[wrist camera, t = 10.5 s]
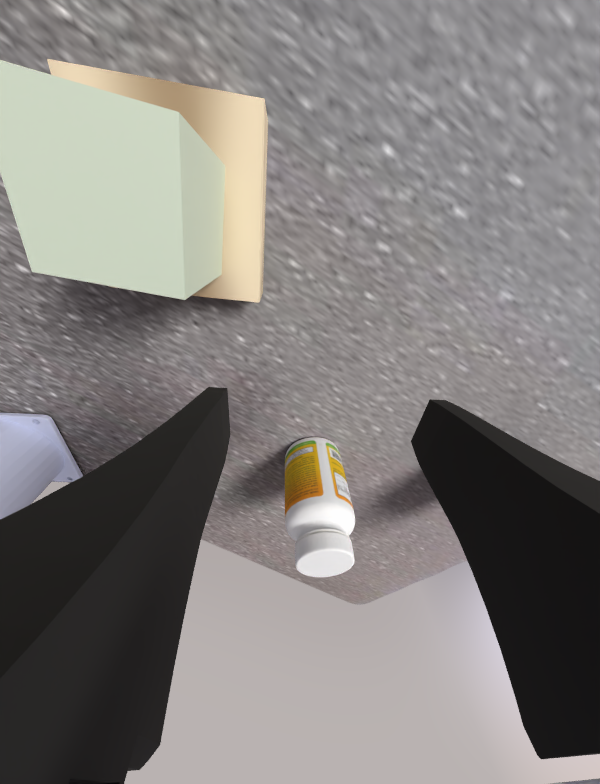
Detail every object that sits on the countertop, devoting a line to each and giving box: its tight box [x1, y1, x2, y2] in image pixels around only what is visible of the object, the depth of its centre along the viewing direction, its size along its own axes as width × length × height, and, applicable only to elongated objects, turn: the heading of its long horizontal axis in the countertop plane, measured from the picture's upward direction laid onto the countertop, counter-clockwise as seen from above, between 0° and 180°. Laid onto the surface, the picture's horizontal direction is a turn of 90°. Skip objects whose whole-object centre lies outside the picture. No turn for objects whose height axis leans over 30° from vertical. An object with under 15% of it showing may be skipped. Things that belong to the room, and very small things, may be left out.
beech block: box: [47, 59, 268, 302], centre depth 13 cm, size 8×8×3 cm
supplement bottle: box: [285, 437, 355, 577], centre depth 21 cm, size 5×5×10 cm
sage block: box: [0, 60, 225, 300], centre depth 10 cm, size 4×4×6 cm
